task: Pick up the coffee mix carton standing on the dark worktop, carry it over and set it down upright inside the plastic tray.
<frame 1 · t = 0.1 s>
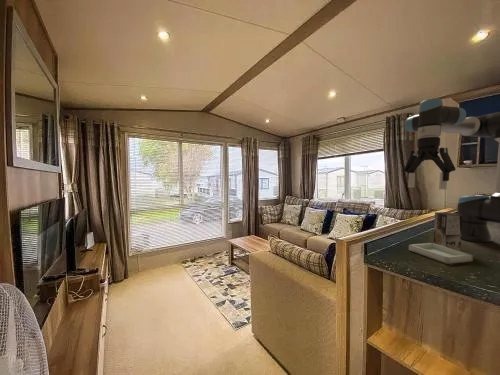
hand: (425, 188, 96), 28 cm above the worktop, fingers open, 13 cm apart
coffee box: (446, 248, 105), on the worktop
tray: (438, 255, 95), on the worktop
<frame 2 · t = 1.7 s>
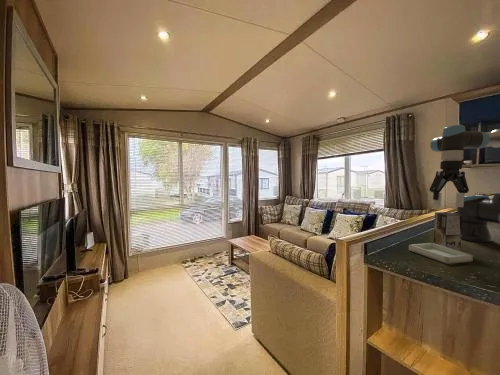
hand: (448, 207, 104), 19 cm above the worktop, fingers open, 13 cm apart
nothing on the worktop moved.
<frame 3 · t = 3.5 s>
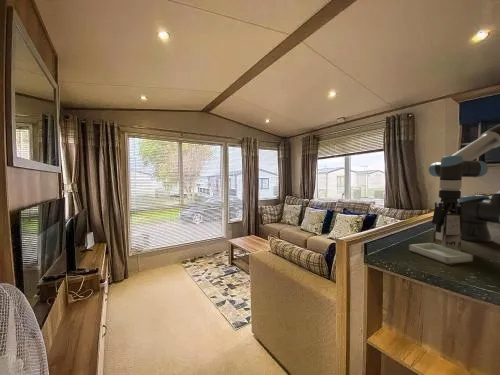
hand: (446, 238, 104), 4 cm above the worktop, fingers closed on coffee box, 8 cm apart
coffee box: (446, 248, 105), on the worktop, touching gripper
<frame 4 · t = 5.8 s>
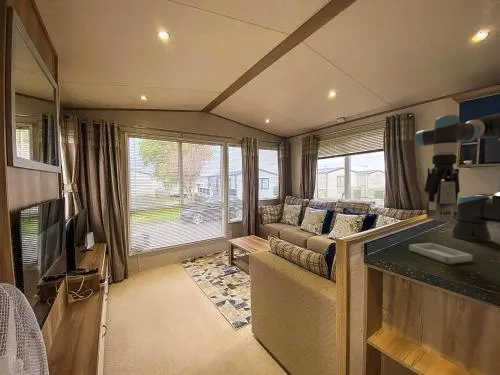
hand: (441, 209, 94), 19 cm above the worktop, fingers closed on coffee box, 8 cm apart
coffee box: (440, 220, 94), point 15 cm above the worktop, touching gripper
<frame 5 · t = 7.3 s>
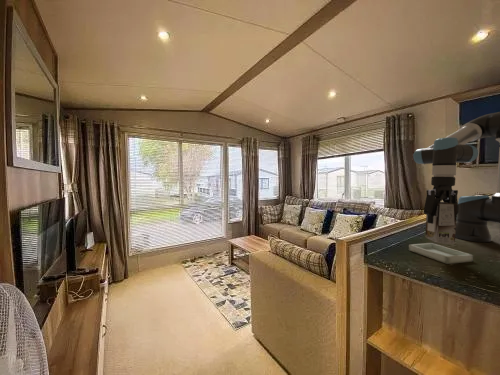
hand: (439, 230, 94), 10 cm above the worktop, fingers closed on coffee box, 8 cm apart
coffee box: (439, 241, 94), point 6 cm above the worktop, touching gripper
when the fingers open (7 cm above the worktop, at t = 8.5 s): coffee box drops 2 cm, resting on tray.
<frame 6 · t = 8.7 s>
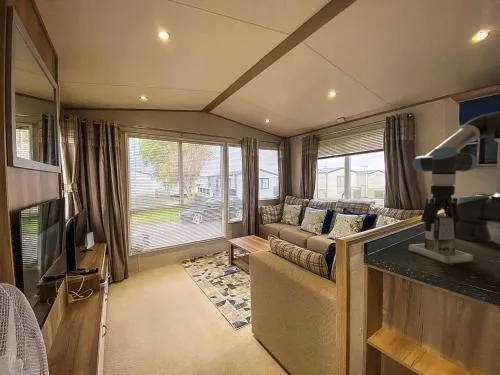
hand: (439, 238, 94), 7 cm above the worktop, fingers open, 10 cm apart
coffee box: (438, 254, 95), resting on tray
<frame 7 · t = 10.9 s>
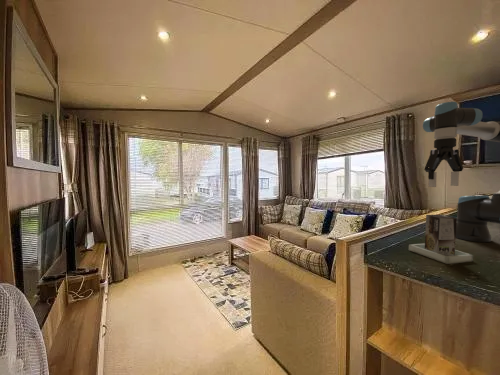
hand: (443, 186, 102), 29 cm above the worktop, fingers open, 13 cm apart
nothing on the worktop moved.
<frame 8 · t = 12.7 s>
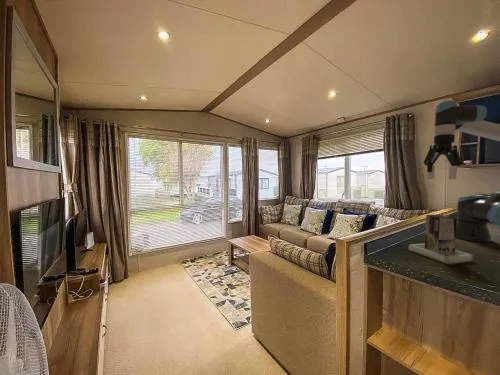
hand: (441, 179, 109), 32 cm above the worktop, fingers open, 13 cm apart
nothing on the worktop moved.
at the end: coffee box inside the target area on the tray (0.1 cm from its centre), point 0.3 cm above the tray's base; coffee box tilted 0°; the gripper is holding nothing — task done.
